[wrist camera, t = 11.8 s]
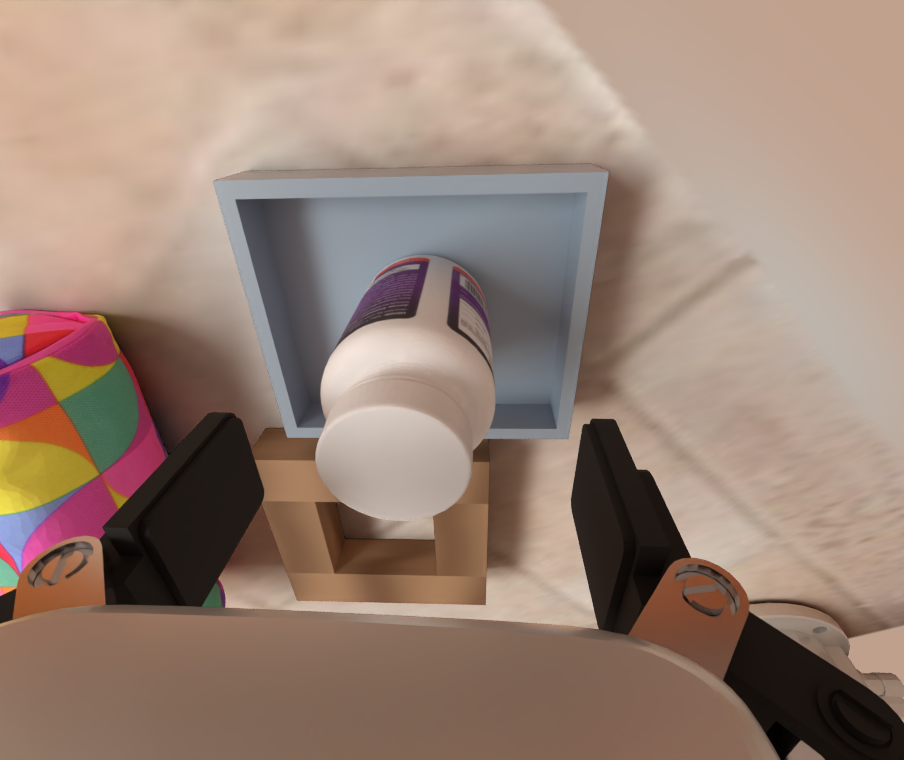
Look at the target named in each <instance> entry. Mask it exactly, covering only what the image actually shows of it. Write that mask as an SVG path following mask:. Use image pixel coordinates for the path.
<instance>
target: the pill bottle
mask: <svg viewBox="0 0 904 760" xmlns="http://www.w3.org/2000/svg"><path fill="white" fill-rule="evenodd" d="M320 396H321V405H322V410H323V413H324V416H325V419H326V423H325V426H324V428H323V431H322V433H321V436H320V438H319V440H318V443H317V448H316V454H315V455H316V465H317V470H318V473H319V476H320V478H321V480H322V481H323V483H324V485H325V486H326V487H327V488H328V490H329V491H330V492H331V493H332V494H333V495H334V496H335V497H336V498H337V499H338V500H340V501H341V502H342V503H344V504H345V505H347V506H348V507H350V508H352V509H354V510H356V511H358V512H360V513H363V514H366V515H369V516H371V517H375V518H379V519H384V520H391V521H411V520H418V519H423V518H428V517H431V516H434V515H436V514H438V513H441V512H443V511H445V510H447V509H448V508H449V507H451V506H452V505H454V504H455V503H456V502H457V501H458V500H459V499H460V498H461V497H462V495H463V494H464V493H465V491H466V489H467V487H468V485H469V483H470V480H471V475H472V463H473V450H474V449H475V448H476V447H477V446H478V445H479V444H480V443H481V441H482V440H483V439H484V437H485V436H486V434H487V432H488V430H489V428H490V426H491V423H492V420H493V416H494V412H495V401H496V399H495V380H494V370H493V358H492V348H491V336H490V326H489V316H488V309H487V304H486V300H485V297H484V295H483V292H482V290H481V288H480V286H479V285H478V283H477V282H476V280H475V279H474V278H473V277H472V276H471V275H470V273H468V272H467V271H466V270H465V269H464V268H462V267H461V266H459V265H458V264H456V263H454V262H453V261H450V260H448V259H445V258H442V257H438V256H433V255H413V256H408V257H404V258H401V259H399V260H396V261H394V262H392V263H390V264H389V265H387V266H386V267H385V268H383V269H382V270H381V271H380V272H379V273H378V274H377V275H376V276H375V278H374V279H373V280H372V282H371V283H370V285H369V286H368V288H367V290H366V291H365V293H364V295H363V297H362V299H361V301H360V303H359V305H358V306H357V308H356V310H355V312H354V314H353V316H352V317H351V319H350V321H349V323H348V325H347V326H346V328H345V330H344V332H343V334H342V336H341V337H340V339H339V341H338V343H337V345H336V347H335V348H334V350H333V352H332V354H331V356H330V358H329V360H328V362H327V365H326V367H325V370H324V373H323V377H322V381H321V392H320Z"/></svg>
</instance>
